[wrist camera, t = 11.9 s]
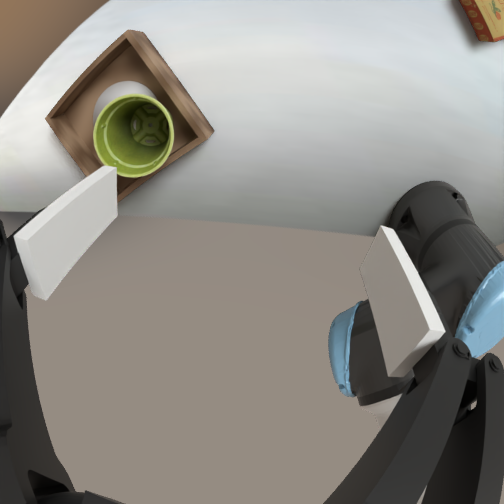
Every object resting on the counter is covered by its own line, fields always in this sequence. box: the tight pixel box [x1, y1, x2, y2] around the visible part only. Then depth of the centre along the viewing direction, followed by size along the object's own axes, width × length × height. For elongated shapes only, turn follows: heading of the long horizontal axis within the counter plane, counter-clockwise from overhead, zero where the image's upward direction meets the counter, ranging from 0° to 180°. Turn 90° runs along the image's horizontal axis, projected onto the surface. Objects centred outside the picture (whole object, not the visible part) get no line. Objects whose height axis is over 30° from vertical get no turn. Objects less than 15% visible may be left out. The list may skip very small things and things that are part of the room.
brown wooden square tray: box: [45, 30, 214, 203], centre depth 33 cm, size 18×18×4 cm
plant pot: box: [93, 94, 174, 177], centre depth 30 cm, size 9×9×9 cm
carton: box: [459, 0, 504, 42], centre depth 16 cm, size 8×16×4 cm, turn 124°
